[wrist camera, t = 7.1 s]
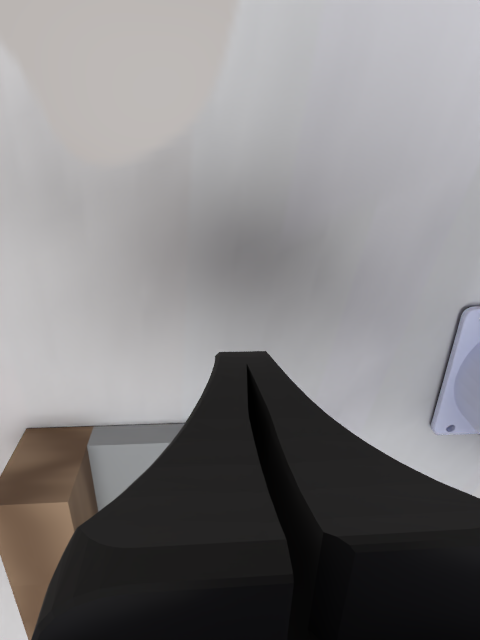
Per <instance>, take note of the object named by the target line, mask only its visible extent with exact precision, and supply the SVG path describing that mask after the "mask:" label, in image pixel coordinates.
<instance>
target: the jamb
mask: <svg viewBox="0 0 480 640" xmlns="http://www.w3.org/2000/svg"><path fill="white" fill-rule="evenodd" d="M93 427H94V426H91V427H61V428H30V429H26V430H25V432H24V434H23V436H22V438H21V440H20V441H19V443H18V445H17V447H16V449H15V450H14V452H13V454H12V456H11V458H10V460H9V461H8V463H7V465H6V467H5V469H4V471H3V472H2V474H1V476H0V555H1V558H2V561H3V564H4V567H5V570H6V573H7V576H8V579H9V582H10V585H11V588H12V591H13V594H14V597H15V600H16V603H17V606H18V609H19V612H20V615H21V618H22V621H23V624H24V627H25V630H26V633H27V636H28V639H29V640H31V639H32V636H33V632H34V629H35V626H36V623H37V620H38V616H39V613H40V610H41V607H42V604H43V600H44V597H45V594H46V591H47V588H48V586H49V583H50V581H51V579H52V576H53V574H54V572H55V570H56V567H57V565H58V563H59V561H60V559H61V557H62V555H63V552H64V551H65V549H66V547H67V545H68V543H69V541H70V539H71V537H72V535H73V534H74V532H75V530H76V528H77V527H78V526H80V525H81V524H83V523H84V522H85V521H87V520H88V519H90V518H91V517H92V516H93V515H95V514H96V513H97V512H98V507H97V501H96V495H95V490H94V484H93V478H92V472H91V466H90V460H89V454H88V449H87V445H88V442H89V439H90V436H91V433H92V430H93Z"/></svg>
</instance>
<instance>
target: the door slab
mask: <svg viewBox="0 0 480 640" xmlns="http://www.w3.org/2000/svg"><path fill="white" fill-rule="evenodd" d="M184 424H185V423H182V424H152V425H122V426H94V427H93V430H92V433H91V436H90V439H89V442H88V445H87V449H88V454H89V460H90V466H91V472H92V478H93V484H94V490H95V495H96V501H97V507H98V512H99V511H100V510H101V509H103V508H104V507H105V506H106V505H108V504H109V503H110V502H112V501H113V500H114V499H115V498H117V497H118V496H119V495H120V494H121V493H122V492H123V491H125V490H126V489H127V488H128V487H129V486H130V485H131V484H132V483H133V482H134V481H135V480H136V479H137V478H138V477H139V476H140V475H142V474H143V473H144V472H145V471H146V470H147V469H148V468H149V467H150V466H151V465H152V464H153V462H154V461H155V460H156V459H157V458H158V457H159V456H160V455H161V453H162V452H163V451H164V450H165V449H166V448H167V446H168V445H169V444H170V443H171V442H172V440H173V439H174V438H175V436H176V435H177V434H178V432H179V431H180V430H181V428H182V427H183V426H184Z"/></svg>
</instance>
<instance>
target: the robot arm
mask: <svg viewBox="0 0 480 640" xmlns="http://www.w3.org/2000/svg"><path fill="white" fill-rule="evenodd" d="M479 318H480V306H473V307H469V308H467V309H466V310H465V311H464V312H463V313H462V316H461V319H460V323H459V326H458V330H457V334H456V337H455V341H454V344H453V348H452V352H451V355H450V359H449V362H448V366H447V370H446V373H445V377H444V380H443V384H442V388H441V391H440V395H439V398H438V402H437V406H436V409H435V413H434V416H433V420H432V424H431V429H432V430H433V432H434V433H435V434H437V435H455V434H479V435H480V319H479ZM449 425H451V426H449ZM448 426H449V427H448ZM31 640H480V499H479V498H477V497H475V496H472V495H470V494H467V493H465V492H462V491H460V490H458V489H455V488H453V487H450V486H448V485H445V484H443V483H441V482H439V481H436V480H434V479H432V478H430V477H428V476H426V475H424V474H422V473H420V472H418V471H416V470H414V469H412V468H410V467H408V466H406V465H404V464H402V463H401V462H399V461H397V460H395V459H393V458H391V457H390V456H388V455H386V454H385V453H383V452H381V451H380V450H378V449H376V448H375V447H373V446H371V445H370V444H368V443H366V442H365V441H363V440H362V439H360V438H359V437H357V436H356V435H354V434H353V433H352V432H350V431H349V430H347V429H346V428H345V427H343V426H342V425H341V424H339V423H338V422H336V421H335V420H334V419H333V418H331V417H330V416H329V415H328V414H326V413H325V412H324V411H323V410H322V409H321V408H319V407H318V406H317V405H316V404H315V403H314V402H313V401H312V400H311V399H309V398H308V397H307V396H306V395H305V394H304V393H303V392H302V391H301V390H300V389H299V388H298V387H297V386H296V384H295V383H294V382H293V381H292V380H291V379H290V378H289V377H288V376H287V375H286V374H285V373H284V371H283V370H282V369H281V368H280V367H279V366H278V365H277V363H276V362H275V361H274V360H273V359H272V357H271V356H270V355H269V354H268V353H267V352H266V351H254V352H219V353H218V354H217V355H216V356H215V363H214V367H213V371H212V373H211V376H210V379H209V381H208V383H207V385H206V387H205V389H204V392H203V394H202V396H201V398H200V399H199V401H198V403H197V405H196V406H195V408H194V410H193V411H192V413H191V415H190V416H189V418H188V420H187V421H186V423H185V424H184V426H183V427H182V428H181V430H180V431H179V432H178V434H177V435H176V436H175V438H174V439H173V440H172V442H171V443H170V444H169V445H168V446H167V448H166V449H165V450H164V451H163V452H162V453H161V455H160V456H159V457H158V458H157V459H156V460H155V461H154V462H153V464H152V465H151V466H150V467H149V468H148V469H147V470H146V471H145V472H144V473H143V474H142V475H140V476H139V477H138V478H137V479H136V480H135V481H134V482H133V483H132V484H131V485H130V486H129V487H128V488H127V489H126V490H125V491H123V492H122V493H121V494H120V495H119V496H118V497H117V498H115V499H114V500H113V501H112V502H110V503H109V504H108V505H106V506H105V507H104V508H103V509H101V510H100V511H99V512H97V513H96V514H95V515H93V516H92V517H91V518H90V519H88V520H87V521H85V522H84V523H83V524H81V525H80V526H78V527H77V528H76V530H75V532H74V534H73V535H72V537H71V539H70V541H69V543H68V545H67V547H66V549H65V551H64V552H63V555H62V557H61V559H60V561H59V563H58V565H57V567H56V570H55V572H54V574H53V576H52V579H51V581H50V583H49V586H48V588H47V591H46V594H45V597H44V600H43V604H42V607H41V610H40V613H39V616H38V620H37V623H36V626H35V629H34V632H33V636H32V639H31Z"/></svg>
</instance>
